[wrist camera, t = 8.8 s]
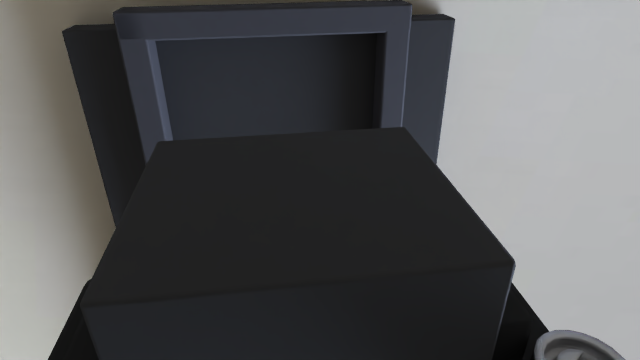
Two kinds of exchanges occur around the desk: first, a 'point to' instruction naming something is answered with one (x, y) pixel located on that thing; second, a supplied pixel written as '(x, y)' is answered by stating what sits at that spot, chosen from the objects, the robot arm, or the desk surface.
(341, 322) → the dark grey block
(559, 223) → the desk surface
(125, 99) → the base pad
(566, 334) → the robot arm
